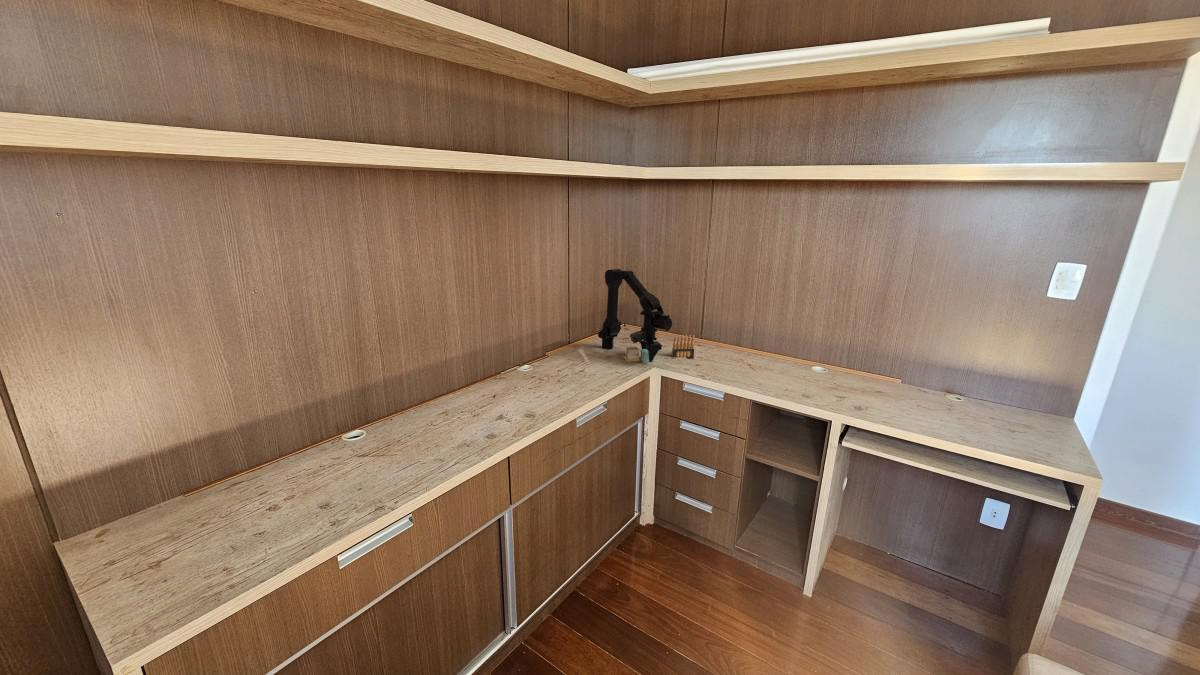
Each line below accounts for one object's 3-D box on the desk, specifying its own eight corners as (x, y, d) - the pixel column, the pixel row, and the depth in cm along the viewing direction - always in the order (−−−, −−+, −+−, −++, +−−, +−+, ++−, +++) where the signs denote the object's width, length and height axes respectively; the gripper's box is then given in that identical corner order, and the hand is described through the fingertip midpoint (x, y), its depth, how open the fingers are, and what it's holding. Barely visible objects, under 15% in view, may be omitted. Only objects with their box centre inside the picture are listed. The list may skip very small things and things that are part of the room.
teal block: (640, 359, 229) (640, 349, 227) (650, 359, 230) (651, 348, 229) (643, 363, 224) (644, 352, 223) (654, 362, 225) (655, 352, 224)
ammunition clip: (672, 359, 234) (674, 335, 230) (670, 358, 236) (673, 333, 232) (693, 358, 236) (696, 334, 232) (692, 357, 238) (694, 333, 234)
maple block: (625, 357, 231) (625, 346, 230) (635, 356, 232) (636, 346, 231) (628, 360, 227) (629, 350, 225) (638, 360, 228) (639, 349, 226)
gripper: (626, 320, 229) (624, 353, 234) (638, 332, 212) (636, 366, 216) (649, 320, 232) (647, 352, 236) (663, 331, 214) (660, 365, 219)
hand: (647, 358), depth 227 cm, fingers open, 8 cm apart
